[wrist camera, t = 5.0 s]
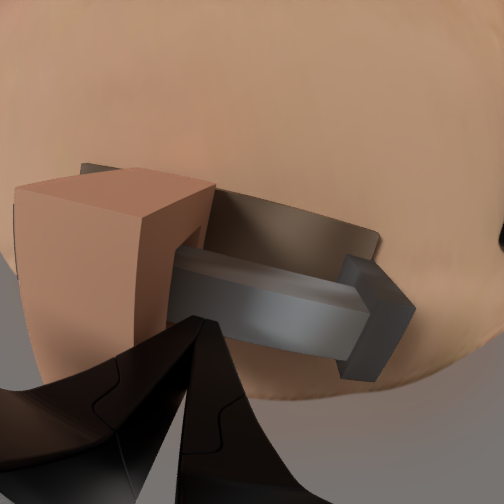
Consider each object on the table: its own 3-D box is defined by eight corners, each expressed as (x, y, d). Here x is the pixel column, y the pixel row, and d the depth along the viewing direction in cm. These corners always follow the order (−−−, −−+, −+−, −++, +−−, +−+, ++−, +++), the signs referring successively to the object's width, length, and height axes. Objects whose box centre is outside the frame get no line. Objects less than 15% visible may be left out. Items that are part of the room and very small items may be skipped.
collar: (216, 183, 12) (142, 217, 5) (190, 315, 15) (138, 429, 7) (137, 167, 12) (15, 187, 5) (124, 295, 14) (43, 383, 7)
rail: (379, 232, 13) (432, 272, 8) (338, 336, 15) (359, 403, 10) (83, 162, 13) (14, 171, 8) (77, 266, 15) (21, 304, 10)
